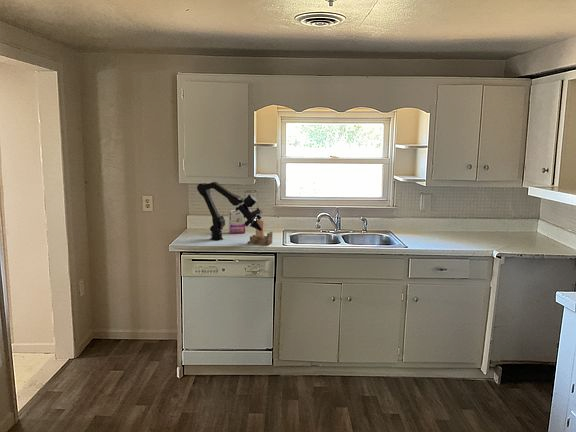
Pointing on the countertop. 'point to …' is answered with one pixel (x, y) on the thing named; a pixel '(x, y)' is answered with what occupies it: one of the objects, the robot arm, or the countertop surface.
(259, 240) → the drying rack
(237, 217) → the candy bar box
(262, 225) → the clay strip
